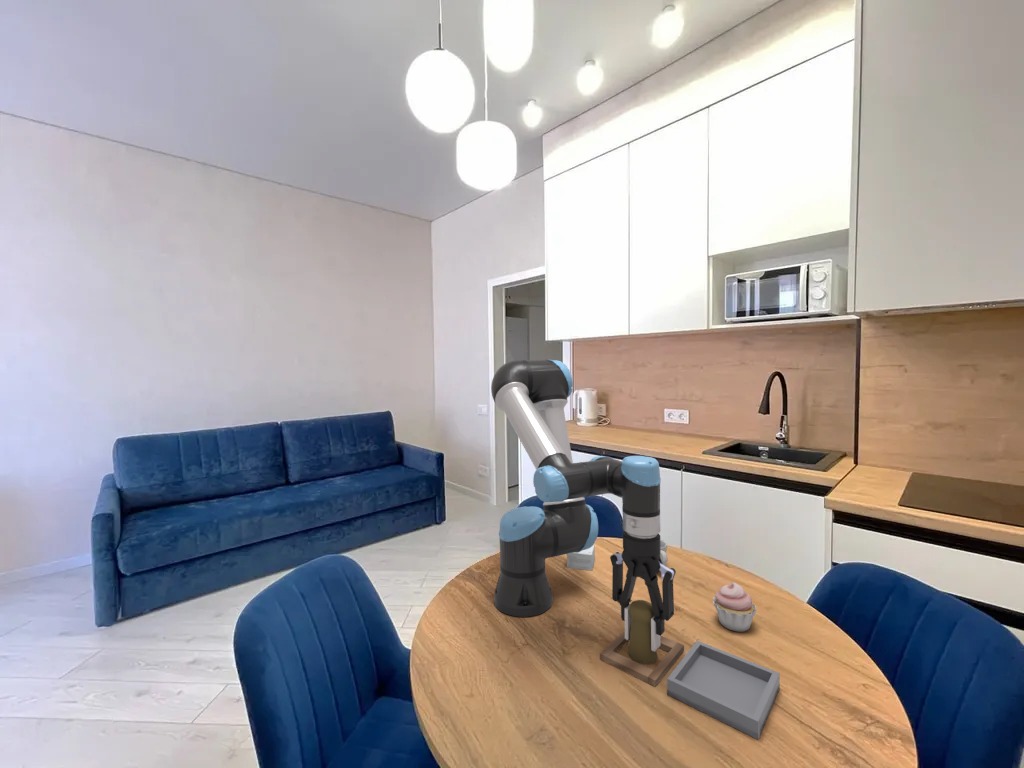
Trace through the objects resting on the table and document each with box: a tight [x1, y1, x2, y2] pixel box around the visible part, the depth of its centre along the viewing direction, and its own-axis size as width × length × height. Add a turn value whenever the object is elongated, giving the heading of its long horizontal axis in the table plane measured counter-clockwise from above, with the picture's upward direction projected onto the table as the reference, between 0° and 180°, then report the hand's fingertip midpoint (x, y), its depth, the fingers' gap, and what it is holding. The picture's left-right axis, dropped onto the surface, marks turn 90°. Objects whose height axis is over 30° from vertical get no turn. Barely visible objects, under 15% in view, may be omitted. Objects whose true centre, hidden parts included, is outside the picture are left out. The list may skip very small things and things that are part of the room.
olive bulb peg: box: [627, 599, 659, 666], centre depth 92 cm, size 6×6×11 cm
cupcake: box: [712, 581, 758, 633], centre depth 102 cm, size 9×9×10 cm
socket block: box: [599, 630, 685, 687], centre depth 92 cm, size 12×14×1 cm
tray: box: [666, 640, 781, 740], centre depth 81 cm, size 15×15×3 cm
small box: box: [566, 544, 596, 572], centre depth 136 cm, size 8×8×5 cm
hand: (642, 641), depth 92 cm, fingers closed on olive bulb peg, 5 cm apart
